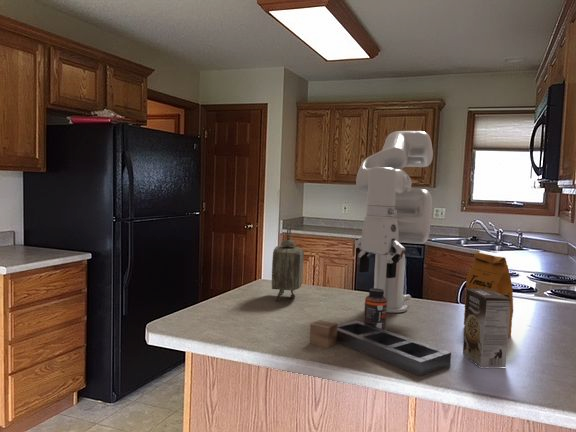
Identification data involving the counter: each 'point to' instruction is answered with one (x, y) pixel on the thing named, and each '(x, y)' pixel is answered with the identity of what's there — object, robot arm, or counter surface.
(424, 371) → the rail
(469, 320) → the coffee box
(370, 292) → the supplement bottle
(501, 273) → the coffee package
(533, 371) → the counter surface
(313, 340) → the walnut block
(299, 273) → the tabletop clock
